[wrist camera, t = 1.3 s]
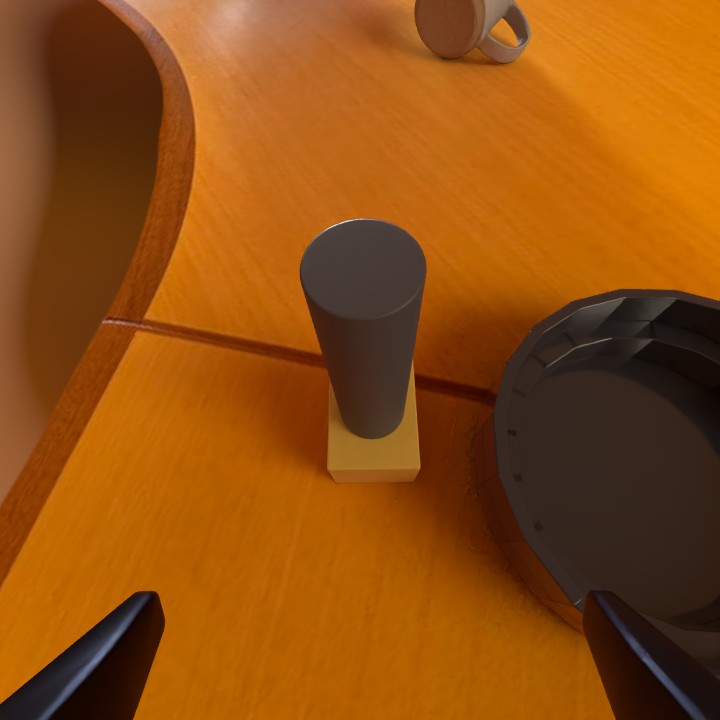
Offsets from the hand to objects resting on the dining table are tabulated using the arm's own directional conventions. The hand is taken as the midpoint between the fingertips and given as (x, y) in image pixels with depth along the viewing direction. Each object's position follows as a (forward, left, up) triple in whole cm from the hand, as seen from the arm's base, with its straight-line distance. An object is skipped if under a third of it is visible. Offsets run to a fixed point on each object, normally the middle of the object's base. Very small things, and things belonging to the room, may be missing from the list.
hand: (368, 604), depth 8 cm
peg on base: (+7, -2, -13) cm, 15 cm away
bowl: (+1, -15, -13) cm, 20 cm away
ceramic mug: (+43, -22, -13) cm, 50 cm away
